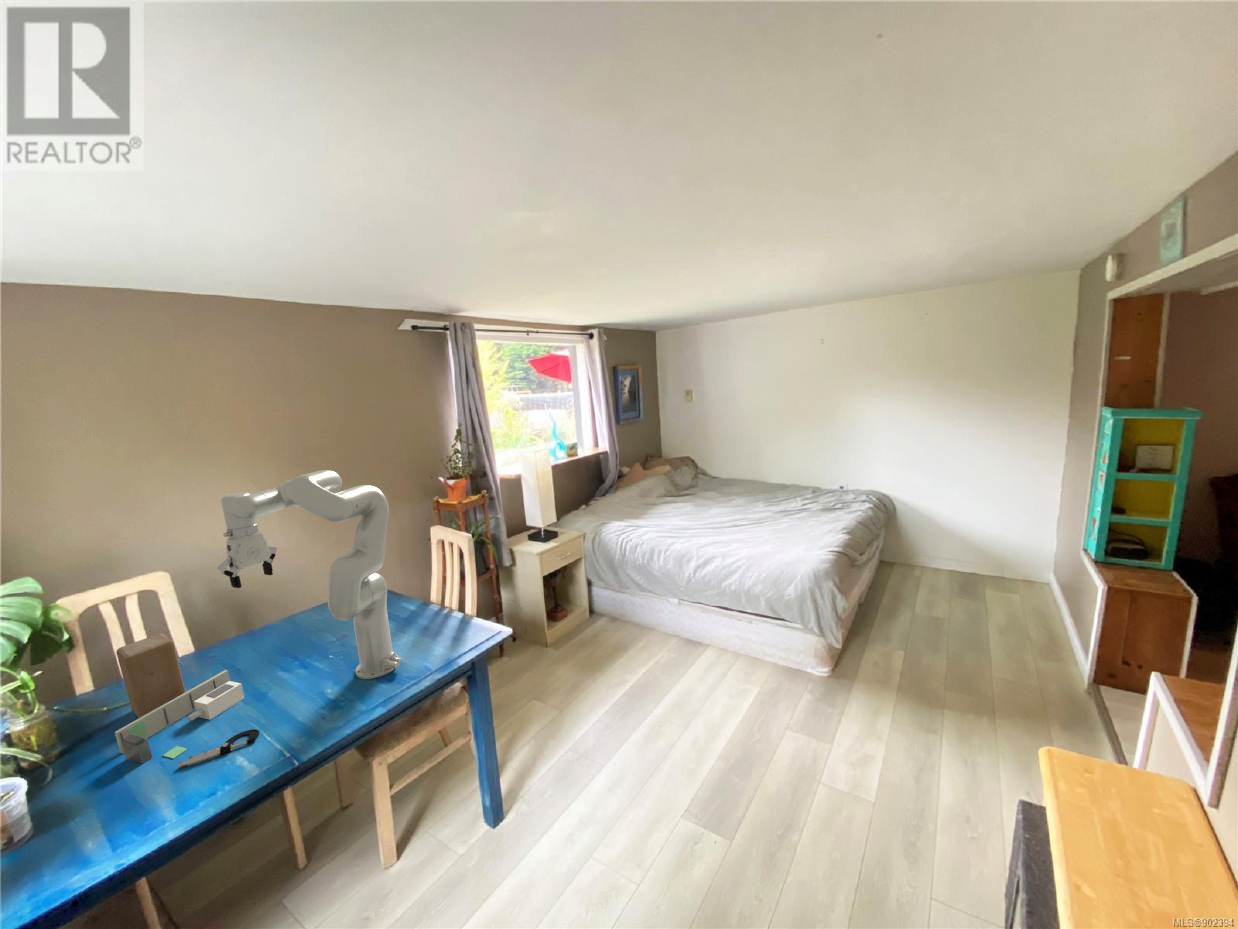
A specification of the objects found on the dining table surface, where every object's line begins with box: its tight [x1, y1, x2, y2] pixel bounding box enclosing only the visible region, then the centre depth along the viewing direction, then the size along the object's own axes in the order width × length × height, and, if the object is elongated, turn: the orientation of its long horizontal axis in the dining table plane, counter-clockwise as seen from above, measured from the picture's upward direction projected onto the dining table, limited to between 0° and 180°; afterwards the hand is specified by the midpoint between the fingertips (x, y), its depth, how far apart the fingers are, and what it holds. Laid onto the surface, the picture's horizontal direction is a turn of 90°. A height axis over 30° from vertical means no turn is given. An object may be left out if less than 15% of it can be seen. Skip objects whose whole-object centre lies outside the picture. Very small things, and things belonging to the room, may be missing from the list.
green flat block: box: [162, 745, 188, 760], centre depth 114 cm, size 4×3×1 cm
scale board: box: [114, 669, 231, 754], centre depth 126 cm, size 1×26×6 cm, turn 164°
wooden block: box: [115, 632, 186, 719], centre depth 130 cm, size 10×10×20 cm
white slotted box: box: [187, 680, 245, 722], centre depth 129 cm, size 5×12×5 cm, turn 163°
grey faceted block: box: [122, 735, 153, 765], centre depth 112 cm, size 6×2×6 cm, turn 74°
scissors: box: [178, 728, 260, 769], centre depth 115 cm, size 15×7×2 cm, turn 121°
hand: (253, 580), depth 148 cm, fingers open, 9 cm apart
